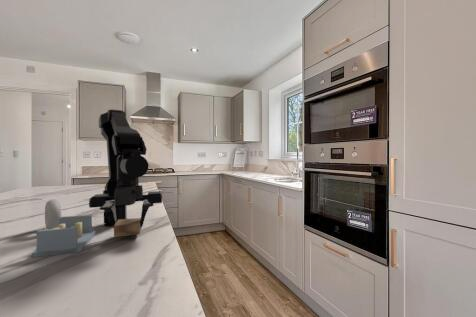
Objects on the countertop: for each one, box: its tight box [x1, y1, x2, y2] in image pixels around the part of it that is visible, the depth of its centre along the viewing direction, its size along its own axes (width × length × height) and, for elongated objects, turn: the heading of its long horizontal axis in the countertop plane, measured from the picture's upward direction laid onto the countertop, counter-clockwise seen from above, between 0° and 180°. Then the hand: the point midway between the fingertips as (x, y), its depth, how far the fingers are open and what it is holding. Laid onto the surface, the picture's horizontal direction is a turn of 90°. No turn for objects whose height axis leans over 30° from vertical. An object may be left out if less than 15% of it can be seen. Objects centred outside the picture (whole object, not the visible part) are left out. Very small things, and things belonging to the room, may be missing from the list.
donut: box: [44, 199, 62, 230], centre depth 75 cm, size 10×4×10 cm, turn 46°
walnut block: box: [113, 217, 143, 237], centre depth 68 cm, size 6×6×3 cm
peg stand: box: [31, 214, 97, 258], centre depth 63 cm, size 10×14×6 cm
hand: (128, 228), depth 68 cm, fingers closed on walnut block, 6 cm apart
